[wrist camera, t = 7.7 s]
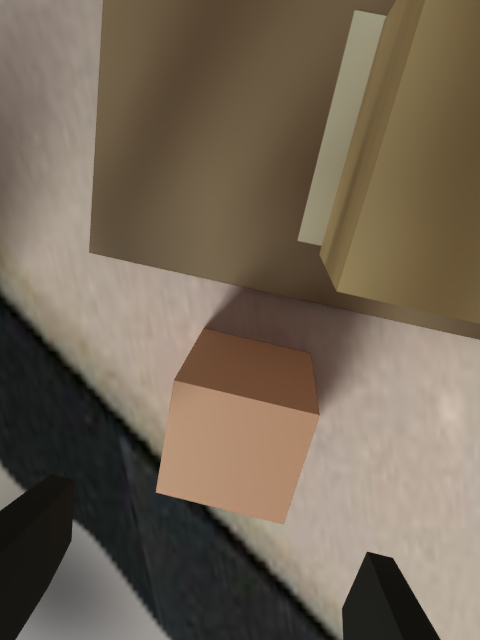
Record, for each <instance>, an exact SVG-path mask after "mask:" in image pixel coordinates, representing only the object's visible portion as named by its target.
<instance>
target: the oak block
mask: <svg viewBox="0 0 480 640" xmlns="http://www.w3.org/2000/svg"><path fill="white" fill-rule="evenodd" d="M319 255H320V257H321V259H322V261H323V263H324V265H325V268H326V270H327V272H328V274H329V276H330V278H331V281H332V283H333V285H334V287H335V289H336V291H337V292H341V293H346V294H350V295H355V296H359V297H363V298H368V299H372V300H377V301H381V302H386V303H390V304H394V305H399V306H403V307H408V308H412V309H416V310H421V311H425V312H430V313H434V314H439V315H443V316H447V317H452V318H456V319H461V320H465V321H469V322H474V323H478V324H480V0H396V2H395V3H394V5H393V7H392V8H391V10H390V12H389V13H388V15H387V17H386V18H385V20H384V23H383V27H382V31H381V34H380V38H379V41H378V45H377V49H376V52H375V56H374V59H373V63H372V67H371V70H370V74H369V77H368V81H367V85H366V88H365V92H364V95H363V99H362V103H361V106H360V110H359V113H358V117H357V121H356V124H355V128H354V131H353V135H352V139H351V142H350V146H349V149H348V153H347V157H346V160H345V164H344V167H343V171H342V175H341V178H340V182H339V185H338V189H337V193H336V196H335V200H334V203H333V207H332V211H331V214H330V218H329V221H328V225H327V229H326V232H325V236H324V239H323V243H322V247H321V250H320V254H319Z"/></svg>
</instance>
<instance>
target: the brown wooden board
mask: <svg viewBox="0 0 480 640" xmlns="http://www.w3.org/2000/svg"><path fill="white" fill-rule="evenodd" d="M395 2H396V0H103V13H102V31H101V49H100V67H99V85H98V103H97V121H96V139H95V157H94V175H93V193H92V211H91V229H90V247H89V253H93V254H98V255H102V256H107V257H111V258H116V259H120V260H125V261H129V262H134V263H138V264H143V265H147V266H151V267H156V268H160V269H165V270H169V271H174V272H178V273H183V274H187V275H192V276H196V277H201V278H205V279H210V280H214V281H219V282H223V283H228V284H232V285H237V286H241V287H246V288H250V289H255V290H259V291H264V292H268V293H273V294H277V295H282V296H286V297H291V298H295V299H300V300H304V301H309V302H313V303H318V304H322V305H326V306H331V307H335V308H340V309H344V310H349V311H353V312H358V313H362V314H367V315H371V316H376V317H380V318H385V319H389V320H394V321H398V322H403V323H407V324H412V325H416V326H421V327H425V328H430V329H434V330H439V331H443V332H448V333H452V334H457V335H461V336H466V337H470V338H475V339H479V340H480V324H478V323H474V322H469V321H465V320H461V319H456V318H452V317H447V316H443V315H439V314H434V313H430V312H425V311H421V310H416V309H412V308H408V307H403V306H399V305H394V304H390V303H386V302H381V301H377V300H372V299H368V298H363V297H359V296H355V295H350V294H346V293H341V292H337V291H336V289H335V287H334V285H333V283H332V281H331V278H330V276H329V274H328V272H327V270H326V268H325V265H324V263H323V261H322V259H321V257H320V255H319V254H320V250H321V247H322V243H323V239H324V236H325V232H326V229H327V225H328V221H329V218H330V214H331V211H332V207H333V203H334V200H335V196H336V193H337V189H338V185H339V182H340V178H341V175H342V171H343V167H344V164H345V160H346V157H347V153H348V149H349V146H350V142H351V139H352V135H353V131H354V128H355V124H356V121H357V117H358V113H359V110H360V106H361V103H362V99H363V95H364V92H365V88H366V85H367V81H368V77H369V74H370V70H371V67H372V63H373V59H374V56H375V52H376V49H377V45H378V41H379V38H380V34H381V31H382V27H383V23H384V20H385V18H386V17H387V15H388V13H389V12H390V10H391V8H392V7H393V5H394V3H395Z"/></svg>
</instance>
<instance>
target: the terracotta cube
mask: <svg viewBox="0 0 480 640" xmlns="http://www.w3.org/2000/svg"><path fill="white" fill-rule="evenodd" d="M319 416H320V414H319V407H318V400H317V393H316V386H315V379H314V372H313V365H312V358H311V353H307V352H303V351H299V350H294V349H290V348H286V347H282V346H277V345H273V344H269V343H265V342H260V341H256V340H252V339H248V338H243V337H239V336H235V335H230V334H226V333H222V332H218V331H213V330H209V329H205V328H203V330H202V332H201V334H200V335H199V337H198V339H197V341H196V342H195V344H194V346H193V348H192V350H191V351H190V353H189V355H188V357H187V358H186V360H185V362H184V364H183V365H182V367H181V369H180V371H179V372H178V374H177V376H176V378H175V379H174V383H173V390H172V396H171V402H170V408H169V414H168V421H167V427H166V433H165V439H164V446H163V452H162V458H161V464H160V471H159V477H158V483H157V489H156V492H157V493H161V494H165V495H169V496H173V497H177V498H181V499H185V500H189V501H192V502H196V503H200V504H204V505H208V506H212V507H216V508H220V509H224V510H228V511H232V512H236V513H240V514H244V515H248V516H252V517H256V518H260V519H264V520H268V521H272V522H276V523H280V524H284V522H285V519H286V516H287V513H288V510H289V507H290V504H291V501H292V497H293V494H294V491H295V488H296V485H297V482H298V479H299V476H300V473H301V470H302V467H303V464H304V461H305V458H306V455H307V452H308V449H309V446H310V443H311V440H312V437H313V434H314V431H315V428H316V425H317V422H318V419H319Z"/></svg>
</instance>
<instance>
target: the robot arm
mask: <svg viewBox="0 0 480 640" xmlns="http://www.w3.org/2000/svg"><path fill="white" fill-rule="evenodd" d="M74 482H75V480H73V479H68V478H64V477H60V476H56V475H52V474H50V475H48V476H47V477H45V478H44V479H43V480H41V481H40V482H38V483H37V484H36V485H34V486H33V487H32V488H30V489H29V490H28V491H26V492H25V493H24V494H23V495H21V496H20V497H18V498H17V499H16V500H14V501H13V502H12V503H10V504H9V505H8V506H6V507H5V508H4V509H2V510H1V511H0V640H15V639H16V638H17V636H18V634H19V633H20V631H21V630H22V628H23V627H24V625H25V623H26V622H27V620H28V619H29V617H30V615H31V614H32V612H33V611H34V609H35V607H36V606H37V604H38V602H39V601H40V599H41V598H42V596H43V594H44V593H45V591H46V590H47V588H48V586H49V584H50V582H51V580H52V578H53V576H54V574H55V573H56V571H57V569H58V567H59V565H60V563H61V561H62V559H63V556H64V555H65V552H66V550H67V548H68V546H69V544H70V542H71V538H72V520H73V501H74ZM342 617H343V640H440V638H439V636H438V635H437V633H436V631H435V629H434V628H433V626H432V624H431V623H430V621H429V619H428V618H427V616H426V614H425V612H424V611H423V609H422V607H421V606H420V604H419V602H418V600H417V599H416V597H415V595H414V593H413V592H412V590H411V588H410V587H409V585H408V583H407V581H406V580H405V578H404V576H403V574H402V573H401V571H400V569H399V568H398V566H397V564H396V562H395V561H394V559H393V558H391V557H387V556H383V555H379V554H375V553H370V552H367V553H366V555H365V558H364V560H363V562H362V565H361V567H360V569H359V571H358V574H357V576H356V578H355V580H354V583H353V585H352V587H351V590H350V592H349V594H348V596H347V599H346V601H345V603H344V605H343V608H342Z"/></svg>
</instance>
